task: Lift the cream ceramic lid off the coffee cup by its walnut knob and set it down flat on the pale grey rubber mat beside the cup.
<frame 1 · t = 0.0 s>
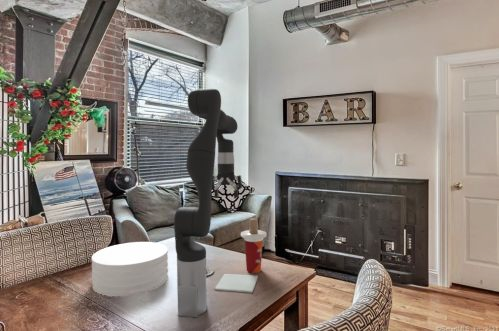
hand: (226, 198, 146), 29 cm above the table, tool pointing down, fingers open, 8 cm apart
plate stack: (131, 281, 127), on the table
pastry: (199, 273, 134), on the table
cup lid: (253, 235, 135), point 15 cm above the table, touching coffee cup
rubber mat: (237, 283, 123), on the table
coffee cup: (253, 270, 136), on the table, touching cup lid
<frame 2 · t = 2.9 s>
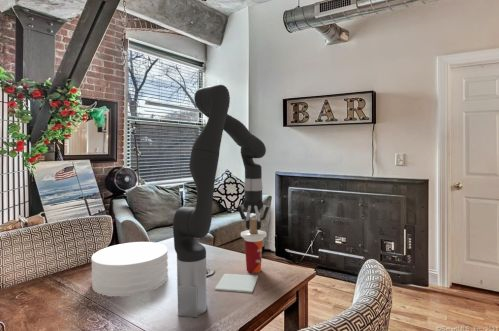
hand: (253, 229, 135), 18 cm above the table, tool pointing down, fingers closed on cup lid, 3 cm apart
cup lid: (253, 235, 135), point 15 cm above the table, touching coffee cup, gripper
everything else where it was.
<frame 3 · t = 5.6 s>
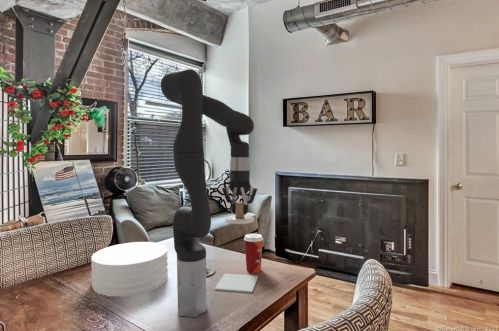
hand: (239, 213, 122), 27 cm above the table, tool pointing down, fingers closed on cup lid, 3 cm apart
cup lid: (239, 220, 123), point 24 cm above the table, touching gripper
coffee cup: (253, 270, 136), on the table
everything else where it was.
when the fingers open (5 cm above the table, at t = 8.8 s): cup lid drops 2 cm, resting on rubber mat.
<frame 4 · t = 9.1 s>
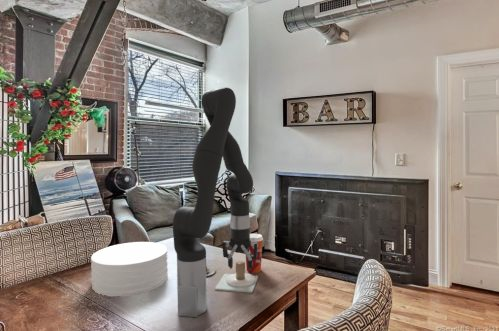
hand: (240, 268, 124), 6 cm above the table, tool pointing down, fingers open, 6 cm apart
cup lid: (240, 280, 124), point 1 cm above the table, touching rubber mat
everything else where it was.
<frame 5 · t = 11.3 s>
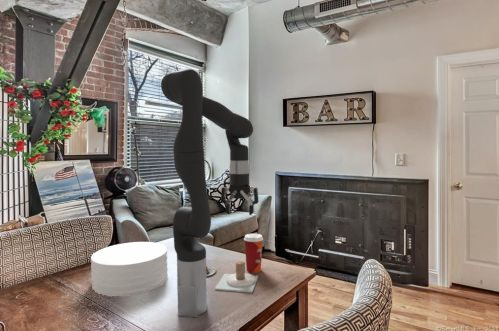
hand: (239, 214, 123), 27 cm above the table, tool pointing down, fingers open, 8 cm apart
nothing on the table moved.
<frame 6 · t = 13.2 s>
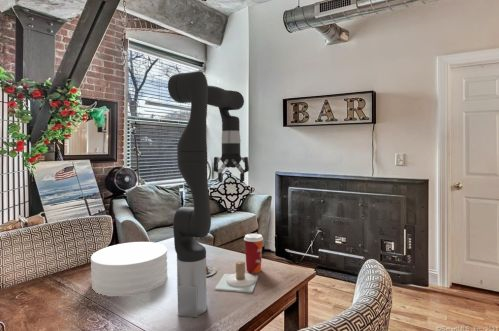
hand: (231, 182, 130), 38 cm above the table, tool pointing down, fingers open, 8 cm apart
nothing on the table moved.
at the end: cup lid inside the target area on the rubber mat (1.4 cm from its centre), point 0.6 cm above the rubber mat's base; cup lid tilted 0°; coffee cup moved 0.2 cm from its start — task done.
